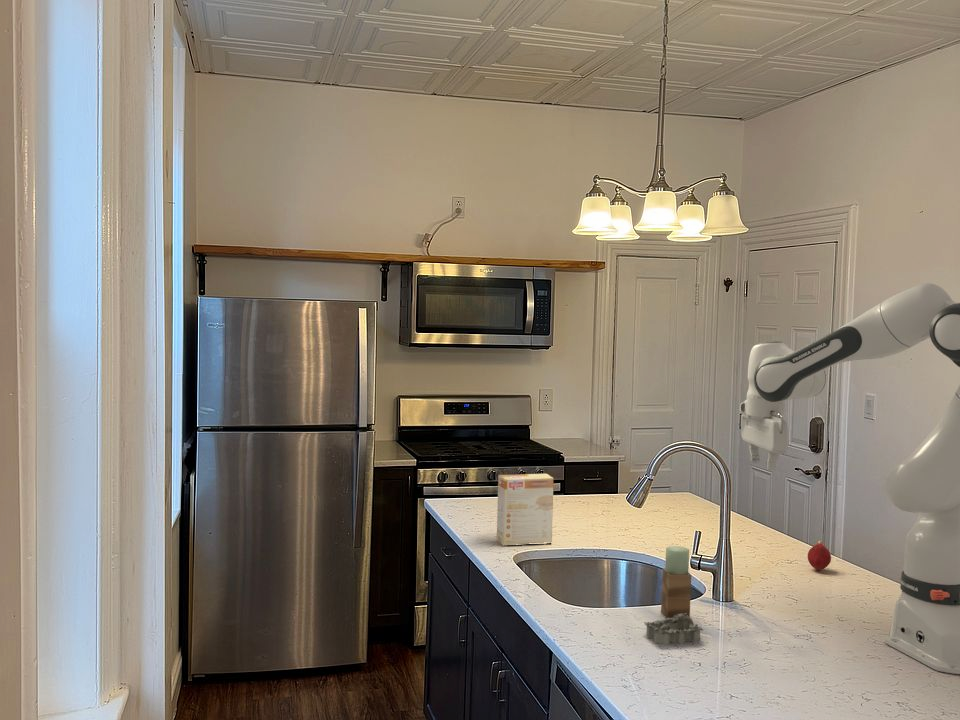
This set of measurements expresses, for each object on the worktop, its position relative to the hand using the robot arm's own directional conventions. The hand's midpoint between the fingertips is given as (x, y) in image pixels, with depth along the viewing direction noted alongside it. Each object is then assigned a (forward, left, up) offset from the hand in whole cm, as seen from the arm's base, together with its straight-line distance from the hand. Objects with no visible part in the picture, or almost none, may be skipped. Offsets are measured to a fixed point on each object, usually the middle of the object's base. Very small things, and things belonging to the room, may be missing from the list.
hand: (762, 465), depth 205 cm
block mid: (-16, +25, -26) cm, 40 cm away
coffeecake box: (+43, +52, -31) cm, 74 cm away
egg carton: (-29, +29, -32) cm, 52 cm away
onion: (+18, -24, -31) cm, 43 cm away
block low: (-16, +25, -31) cm, 43 cm away
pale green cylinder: (-16, +25, -21) cm, 36 cm away
